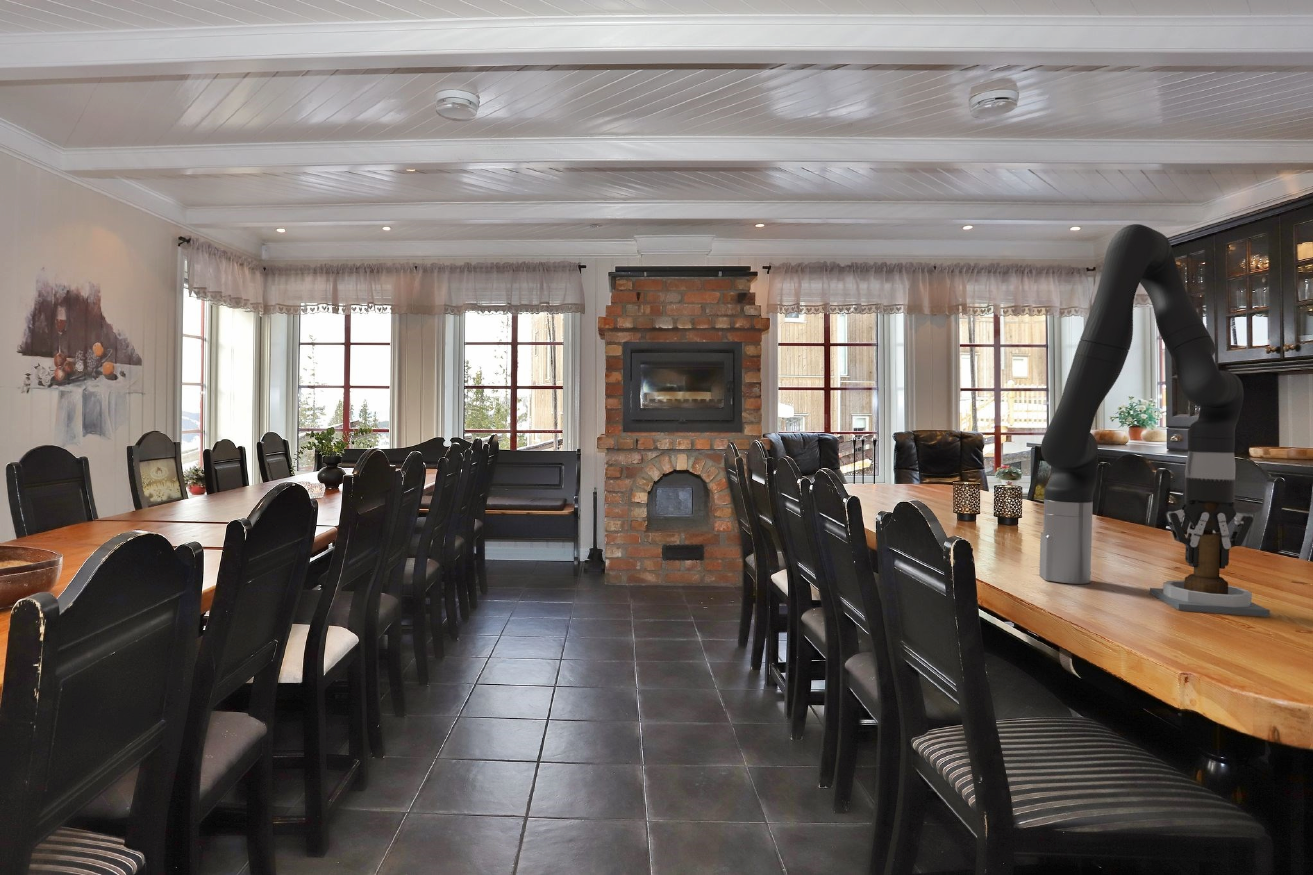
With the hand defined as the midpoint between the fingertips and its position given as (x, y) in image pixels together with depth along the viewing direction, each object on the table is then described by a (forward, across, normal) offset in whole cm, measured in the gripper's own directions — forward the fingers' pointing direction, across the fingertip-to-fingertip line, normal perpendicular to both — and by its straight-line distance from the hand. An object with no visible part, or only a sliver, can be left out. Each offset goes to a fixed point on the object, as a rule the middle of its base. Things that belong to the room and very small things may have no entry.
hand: (1206, 566), depth 140 cm
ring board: (+7, 0, 0) cm, 7 cm away
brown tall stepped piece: (+5, 0, 0) cm, 5 cm away
